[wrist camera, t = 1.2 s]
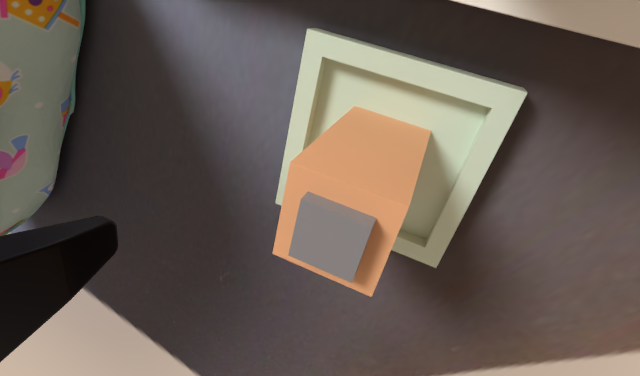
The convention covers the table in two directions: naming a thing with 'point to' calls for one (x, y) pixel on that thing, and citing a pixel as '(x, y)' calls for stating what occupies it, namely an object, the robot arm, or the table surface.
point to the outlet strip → (575, 16)
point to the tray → (414, 108)
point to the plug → (350, 197)
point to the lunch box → (34, 99)
